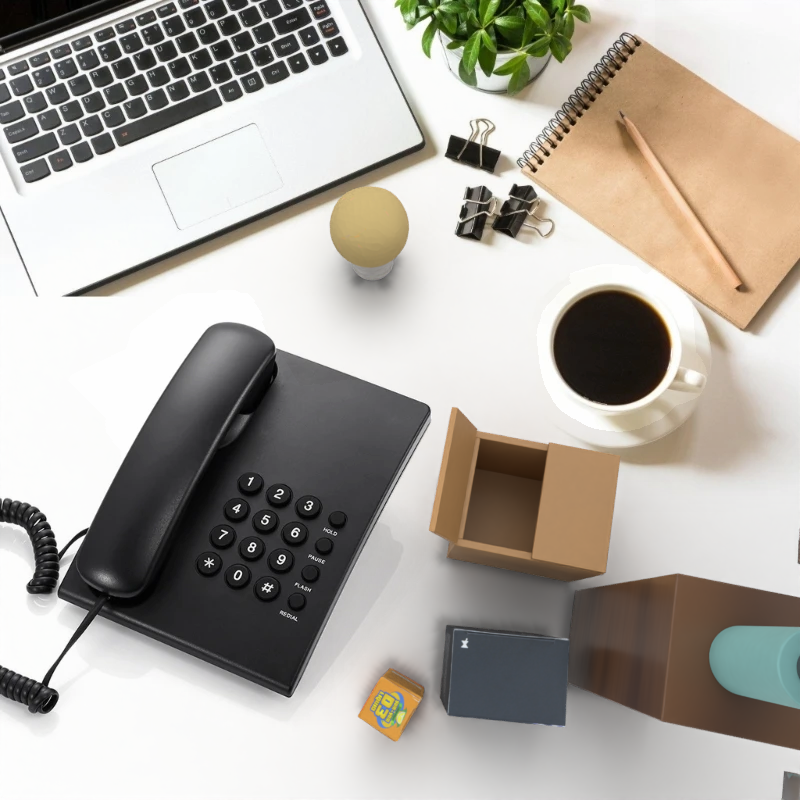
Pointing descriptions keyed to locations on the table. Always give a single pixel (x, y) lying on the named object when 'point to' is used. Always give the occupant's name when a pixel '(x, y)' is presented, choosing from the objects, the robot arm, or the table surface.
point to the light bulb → (369, 230)
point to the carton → (537, 508)
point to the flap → (453, 477)
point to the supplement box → (392, 704)
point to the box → (505, 676)
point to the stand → (677, 652)
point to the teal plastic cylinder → (759, 662)
